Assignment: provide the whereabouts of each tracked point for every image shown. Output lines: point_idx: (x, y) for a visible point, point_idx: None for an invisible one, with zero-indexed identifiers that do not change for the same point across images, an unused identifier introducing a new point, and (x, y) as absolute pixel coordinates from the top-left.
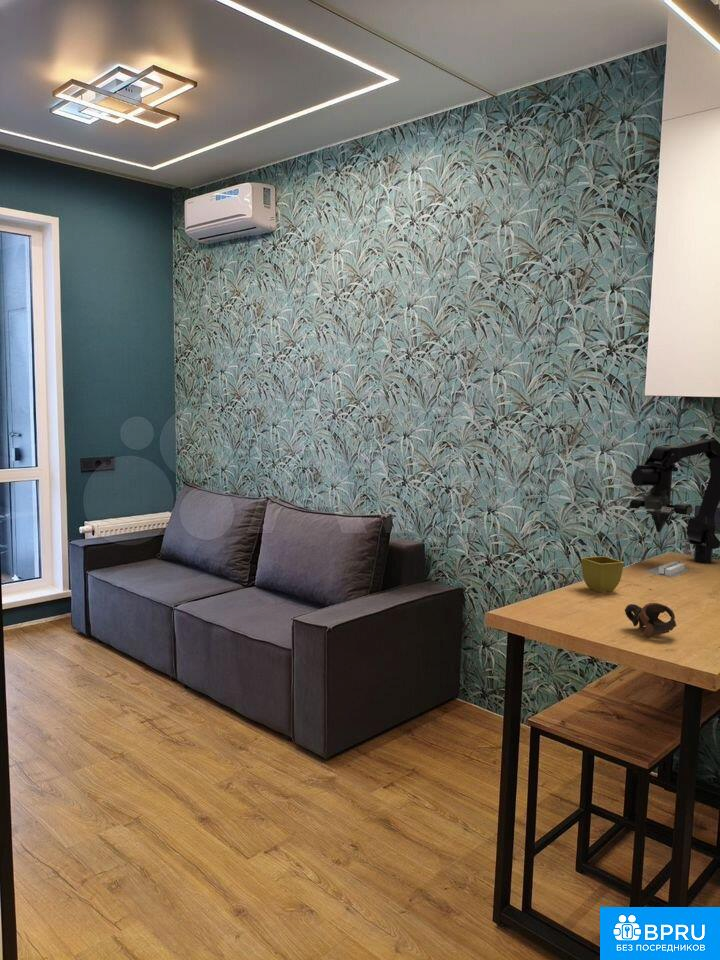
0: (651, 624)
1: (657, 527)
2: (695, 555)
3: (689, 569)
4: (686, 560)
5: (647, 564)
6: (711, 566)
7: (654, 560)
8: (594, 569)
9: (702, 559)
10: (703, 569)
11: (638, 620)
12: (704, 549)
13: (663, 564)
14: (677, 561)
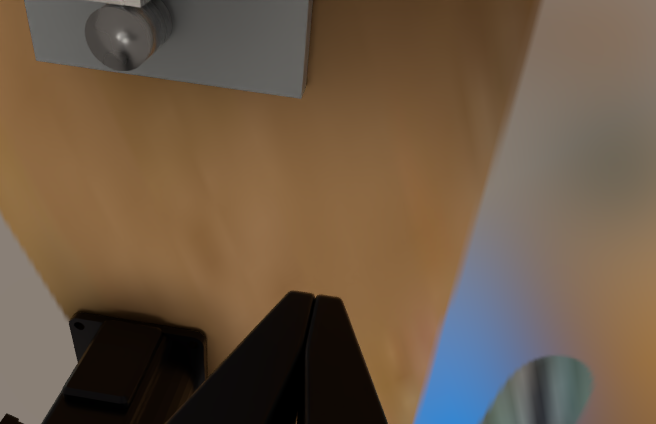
0: None
1: (319, 352)
2: (137, 370)
3: (44, 44)
4: None
5: (461, 111)
6: None
7: (438, 291)
8: None
9: (93, 344)
10: (58, 225)
11: None
12: (52, 417)
13: (299, 92)
14: (105, 24)
